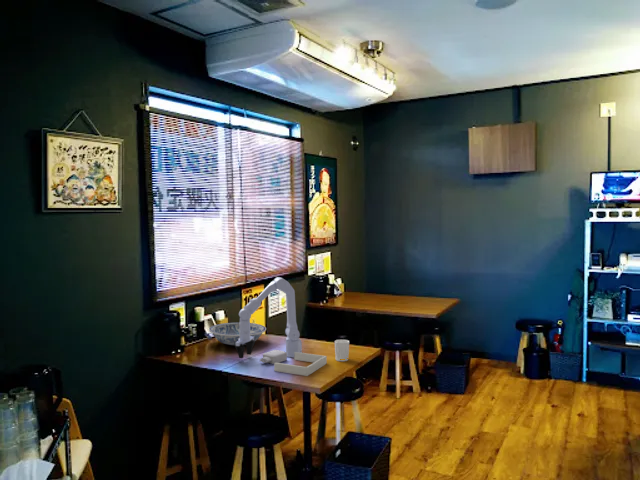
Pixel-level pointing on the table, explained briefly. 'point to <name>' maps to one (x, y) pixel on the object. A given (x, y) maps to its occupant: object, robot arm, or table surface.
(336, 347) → the white cup
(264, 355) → the charger
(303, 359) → the box
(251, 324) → the ceramic bowl
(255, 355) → the table surface
